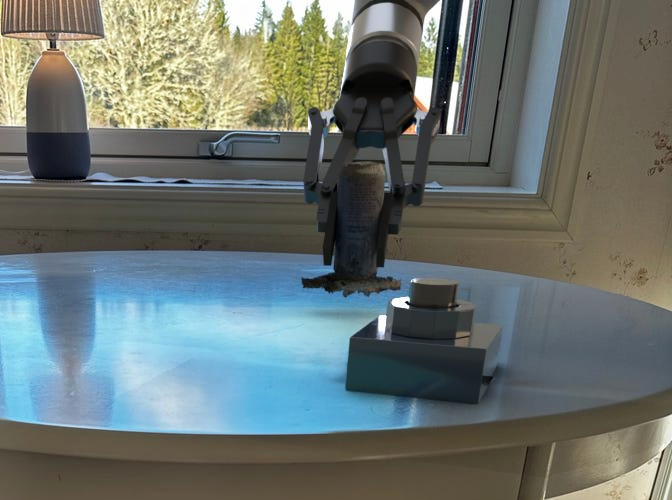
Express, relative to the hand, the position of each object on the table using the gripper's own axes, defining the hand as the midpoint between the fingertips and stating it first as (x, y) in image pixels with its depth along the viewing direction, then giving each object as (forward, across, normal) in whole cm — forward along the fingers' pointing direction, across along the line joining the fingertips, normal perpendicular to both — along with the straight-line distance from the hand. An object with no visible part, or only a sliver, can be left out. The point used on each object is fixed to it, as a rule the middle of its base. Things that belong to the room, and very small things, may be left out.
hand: (353, 256), depth 93 cm
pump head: (+16, -8, +15) cm, 23 cm away
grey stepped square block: (+20, -8, +11) cm, 24 cm away
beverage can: (0, 0, -6) cm, 6 cm away
